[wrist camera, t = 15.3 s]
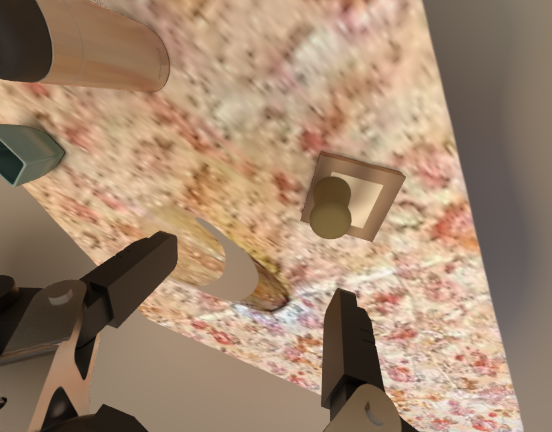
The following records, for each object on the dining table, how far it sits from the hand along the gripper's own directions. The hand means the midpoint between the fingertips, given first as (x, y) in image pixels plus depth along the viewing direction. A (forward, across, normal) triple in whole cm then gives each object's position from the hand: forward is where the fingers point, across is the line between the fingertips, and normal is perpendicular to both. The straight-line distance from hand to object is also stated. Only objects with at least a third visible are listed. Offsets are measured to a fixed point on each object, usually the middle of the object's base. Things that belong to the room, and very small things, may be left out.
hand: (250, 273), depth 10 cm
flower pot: (+30, +55, +13) cm, 64 cm away
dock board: (+30, -8, +5) cm, 32 cm away
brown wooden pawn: (+27, -6, +5) cm, 28 cm away
